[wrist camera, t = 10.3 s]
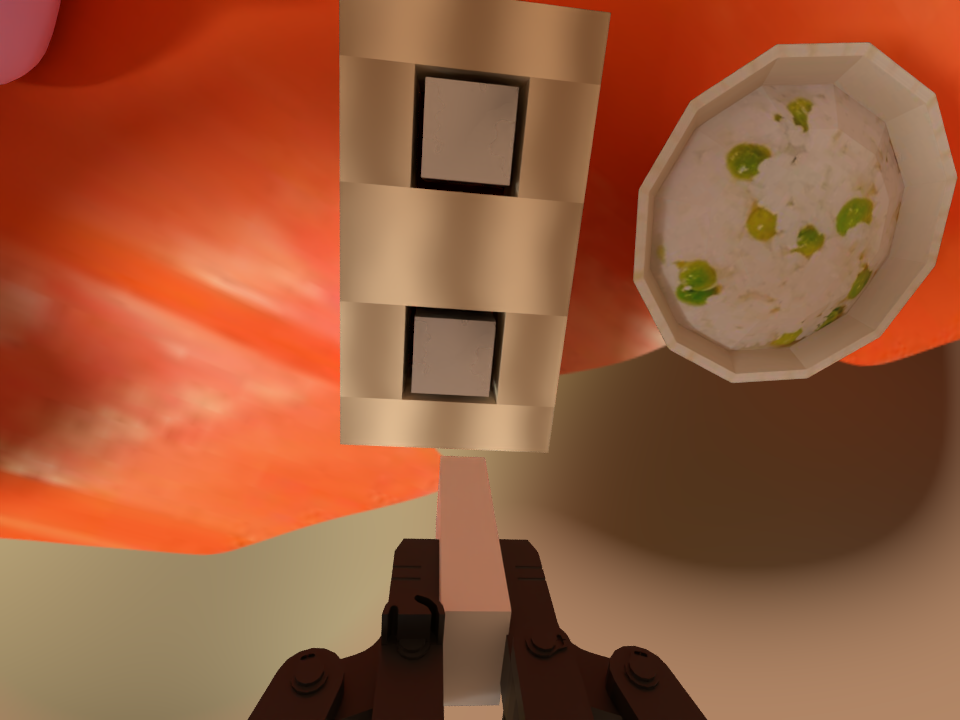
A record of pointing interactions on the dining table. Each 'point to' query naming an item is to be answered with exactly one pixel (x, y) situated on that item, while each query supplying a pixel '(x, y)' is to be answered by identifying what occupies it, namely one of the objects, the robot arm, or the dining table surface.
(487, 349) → the far peg
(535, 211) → the socket block
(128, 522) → the dining table surface
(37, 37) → the teapot
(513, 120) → the near peg
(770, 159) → the bowl
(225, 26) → the dining table surface
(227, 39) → the dining table surface
